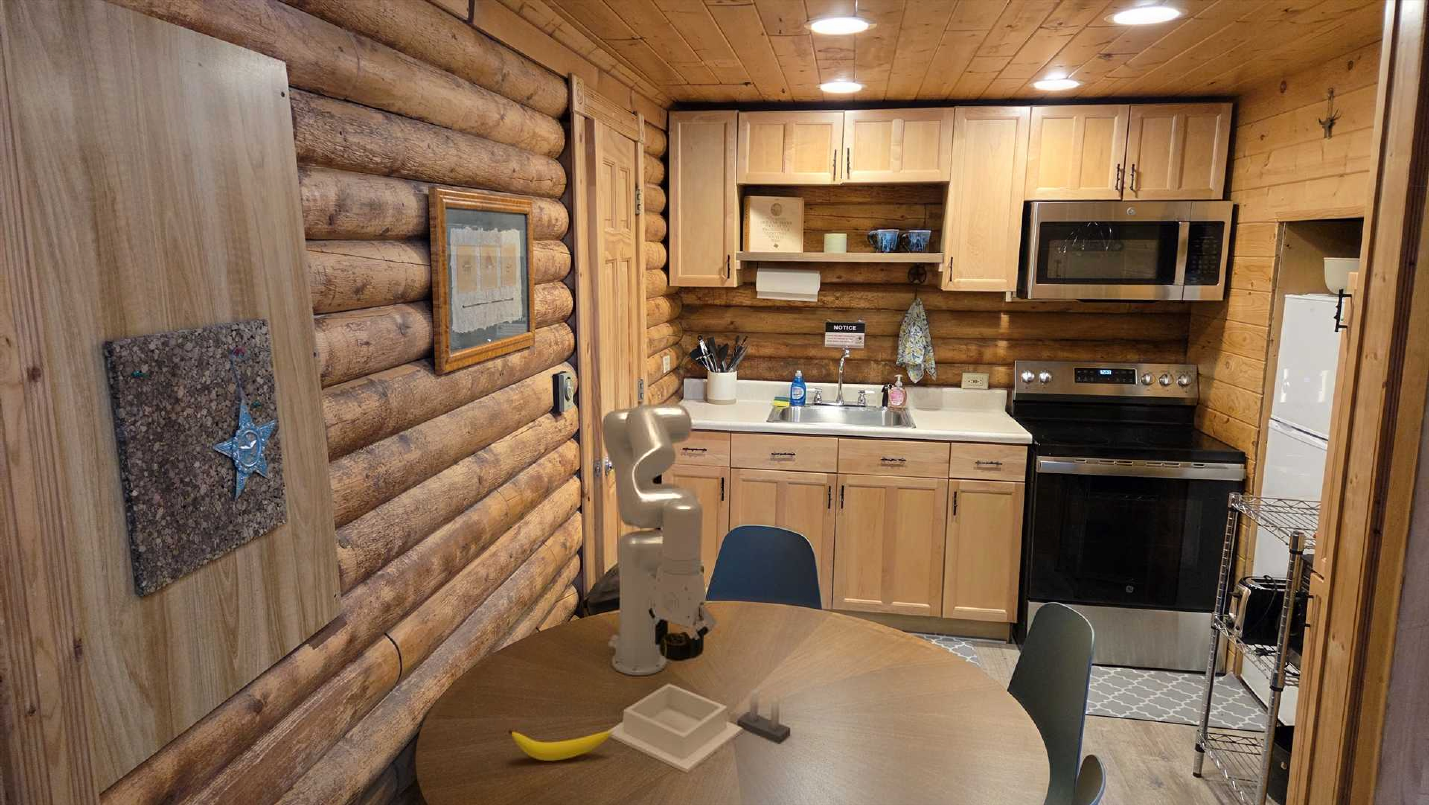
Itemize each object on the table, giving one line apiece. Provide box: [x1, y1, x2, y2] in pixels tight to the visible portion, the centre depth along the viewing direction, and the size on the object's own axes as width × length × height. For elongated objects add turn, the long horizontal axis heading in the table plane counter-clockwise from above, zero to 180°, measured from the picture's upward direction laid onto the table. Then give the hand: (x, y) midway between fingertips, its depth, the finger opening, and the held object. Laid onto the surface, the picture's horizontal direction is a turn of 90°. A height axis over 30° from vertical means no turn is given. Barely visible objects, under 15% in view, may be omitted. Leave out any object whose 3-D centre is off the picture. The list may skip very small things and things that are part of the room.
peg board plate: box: [736, 689, 791, 744], centre depth 168 cm, size 10×4×8 cm, turn 54°
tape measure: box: [659, 631, 692, 662], centre depth 164 cm, size 7×7×4 cm
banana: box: [508, 729, 613, 762], centre depth 156 cm, size 3×19×6 cm, turn 100°
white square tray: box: [607, 683, 744, 774], centre depth 166 cm, size 20×18×5 cm
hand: (678, 648), depth 164 cm, fingers closed on tape measure, 8 cm apart
